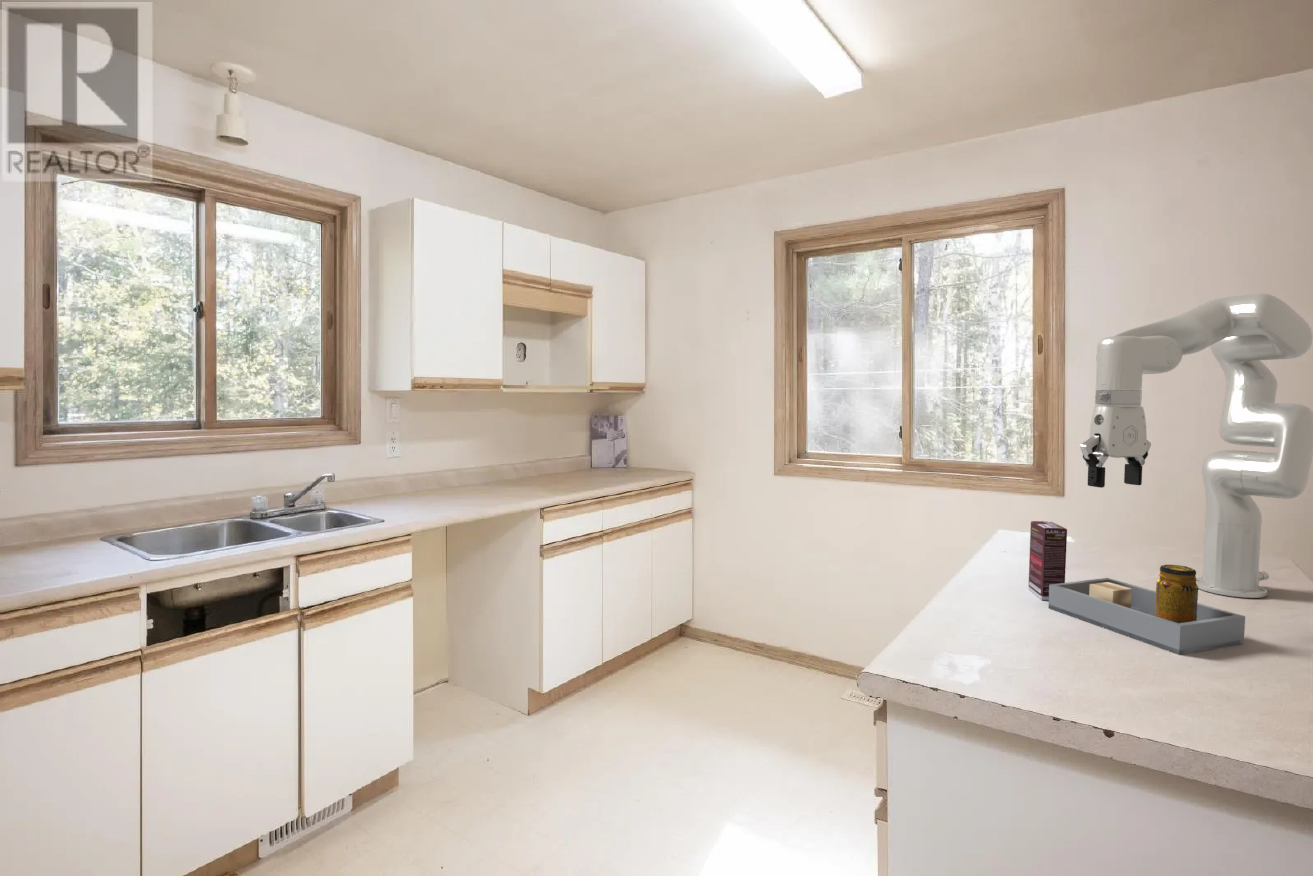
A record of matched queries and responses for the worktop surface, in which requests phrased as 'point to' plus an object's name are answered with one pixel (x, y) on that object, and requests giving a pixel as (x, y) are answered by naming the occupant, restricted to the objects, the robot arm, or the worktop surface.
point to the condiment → (1176, 594)
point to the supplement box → (1046, 557)
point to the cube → (1112, 593)
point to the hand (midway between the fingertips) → (1114, 485)
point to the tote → (1148, 618)
